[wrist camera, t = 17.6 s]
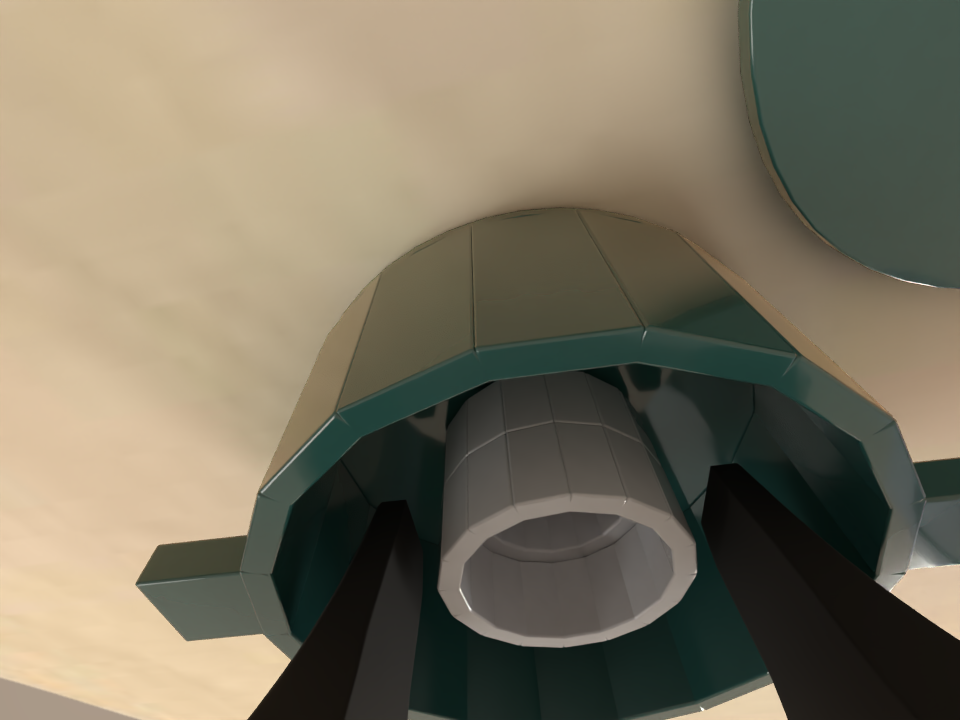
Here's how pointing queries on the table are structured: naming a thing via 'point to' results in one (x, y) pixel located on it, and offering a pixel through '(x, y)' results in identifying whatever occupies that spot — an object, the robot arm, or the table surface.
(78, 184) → the table surface
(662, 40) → the table surface
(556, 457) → the cup
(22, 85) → the table surface
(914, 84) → the pan lid
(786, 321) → the pan
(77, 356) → the table surface
